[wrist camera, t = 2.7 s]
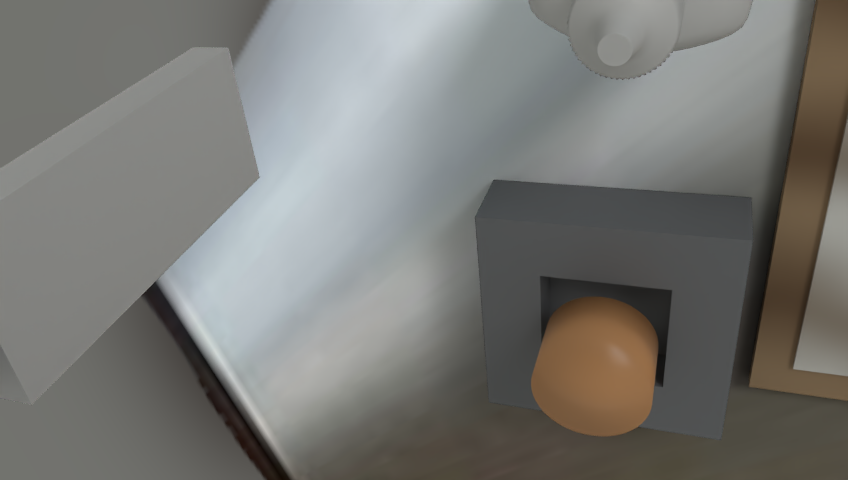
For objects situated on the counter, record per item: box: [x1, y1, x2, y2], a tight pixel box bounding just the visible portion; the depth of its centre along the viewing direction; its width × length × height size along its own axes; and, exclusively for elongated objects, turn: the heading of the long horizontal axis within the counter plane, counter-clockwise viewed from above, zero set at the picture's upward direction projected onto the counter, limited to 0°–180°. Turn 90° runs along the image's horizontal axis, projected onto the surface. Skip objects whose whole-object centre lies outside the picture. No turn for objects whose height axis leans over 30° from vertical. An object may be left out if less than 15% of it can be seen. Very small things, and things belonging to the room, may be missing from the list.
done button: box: [531, 296, 658, 436], centre depth 29 cm, size 4×4×3 cm
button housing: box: [475, 180, 753, 440], centre depth 32 cm, size 10×10×3 cm
